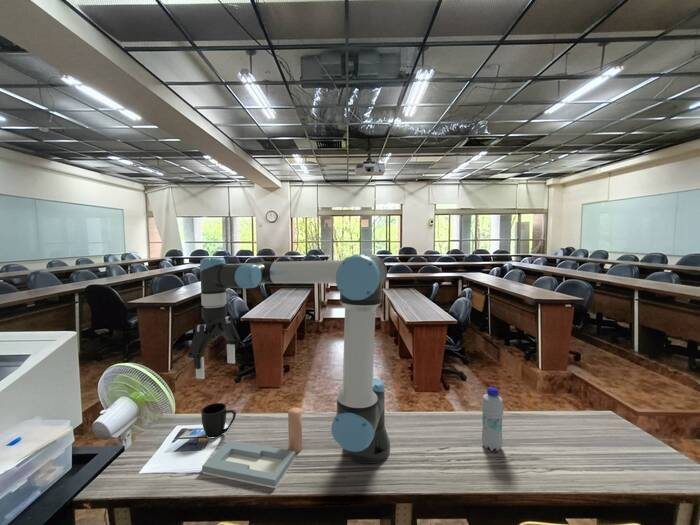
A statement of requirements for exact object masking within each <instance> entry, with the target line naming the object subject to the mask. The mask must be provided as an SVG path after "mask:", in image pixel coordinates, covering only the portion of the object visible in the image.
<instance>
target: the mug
mask: <svg viewBox="0 0 700 525" xmlns="http://www.w3.org/2000/svg"><path fill="white" fill-rule="evenodd" d="M228 413H231V414H232V419H231V421H230V423H229V424H228V426H227V427H226V428H225V426H226V420H227V414H228ZM236 416H237V411H236V410H235V409H227V405H226V404H225V403H223V402H215V403H211V404H207V405H206V406H204V407H203V408H202V409H201V425H202V428H203V431H204V434H205V436H208V437H217V438H219V437H221V436H222V435H224V434H225V433H227V432H228V431H229V429H230V428H231V426H232V424H233V422H234V420H235V419H236ZM218 436H219V437H218Z"/></svg>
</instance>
